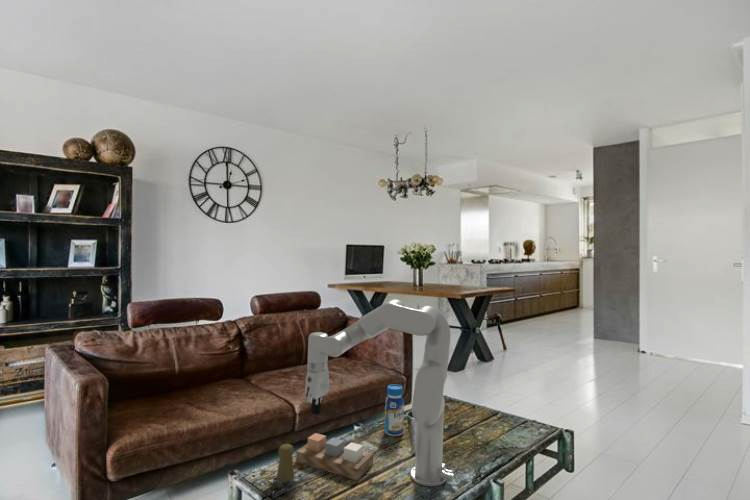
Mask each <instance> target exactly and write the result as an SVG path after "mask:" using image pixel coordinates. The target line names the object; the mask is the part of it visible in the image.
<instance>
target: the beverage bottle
mask: <svg viewBox="0 0 750 500" xmlns="http://www.w3.org/2000/svg"><path fill="white" fill-rule="evenodd" d="M403 392H404V390H403V385H401V384H396V383H395V384H394V383H393V384H389V385H387V387H386V394H387V396H386V398H385V401H384V403H385V406H384V433H385V434H386V435H388V436H389V437H390V436H391V437H399V436H401V435H403V434H404V429H405V428H404V421H405V420H404V418H405V417H404V416H405V406H404V405H405V400H404V398H403V396H402V395H403V394H404V393H403Z"/></svg>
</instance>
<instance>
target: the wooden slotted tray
mask: <svg viewBox="0 0 750 500" xmlns="http://www.w3.org/2000/svg"><path fill="white" fill-rule="evenodd" d="M328 441H329V440H328ZM328 441H327V440H326V442H328ZM346 446H347V445H346ZM346 446H345V445H344V448H345V447H346ZM295 455H296V461H295V462H296V463H299V464H302V465H305V466H309V467H312V468H315V469H319V470H323V471H325V472H329V473H331V474H332V473H333V474H334V475H339V476H342V477H346V478H348V479H351V480H355V481H359V479H360V478H361V477H362V476H363V475H364V474H365V473H366V472H367V471H368V470H369V469H370V468H371V467H372V466H373V465H374V453H373V452H368V451H366V450H365V451H364V450H363V458H362V459H361V460H360V461H359V462H358V463H357V464H356V463H353V462H349V461H346V460H344V453H343V454H341V455H340V456H339V457H338V458H335V457H332V456H328V455H325V448H324V449H323V450H322V451H321V452H319V453H318V452H315V451H311V450H308V442H307V443H306V444H305V445H303V446H302V447H300V448H298V449H297V450H296V453H295Z"/></svg>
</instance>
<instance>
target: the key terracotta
mask: <svg viewBox="0 0 750 500" xmlns="http://www.w3.org/2000/svg"><path fill="white" fill-rule="evenodd" d="M326 441H327V435H324V434H320V433H318V432H317V433H316V432H314V433H313V434H312V435H310V436H309V437H307V443H308V450H311V451H315V452H318V453H319V452H321V451H322V450H323V449H324V448H325V443H326Z"/></svg>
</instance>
